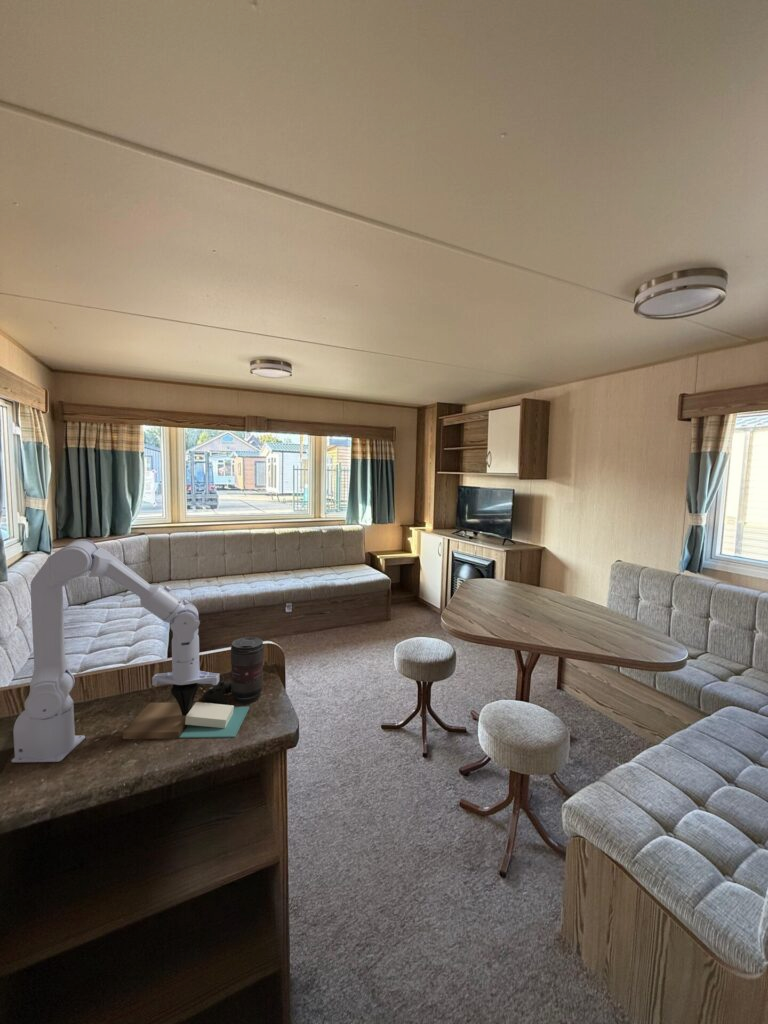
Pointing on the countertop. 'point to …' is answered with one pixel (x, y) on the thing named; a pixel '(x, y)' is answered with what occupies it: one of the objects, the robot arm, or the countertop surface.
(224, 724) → the cream tile
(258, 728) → the countertop surface
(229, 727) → the teal mat
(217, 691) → the game controller
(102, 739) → the countertop surface
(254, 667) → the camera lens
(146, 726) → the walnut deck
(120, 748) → the countertop surface
